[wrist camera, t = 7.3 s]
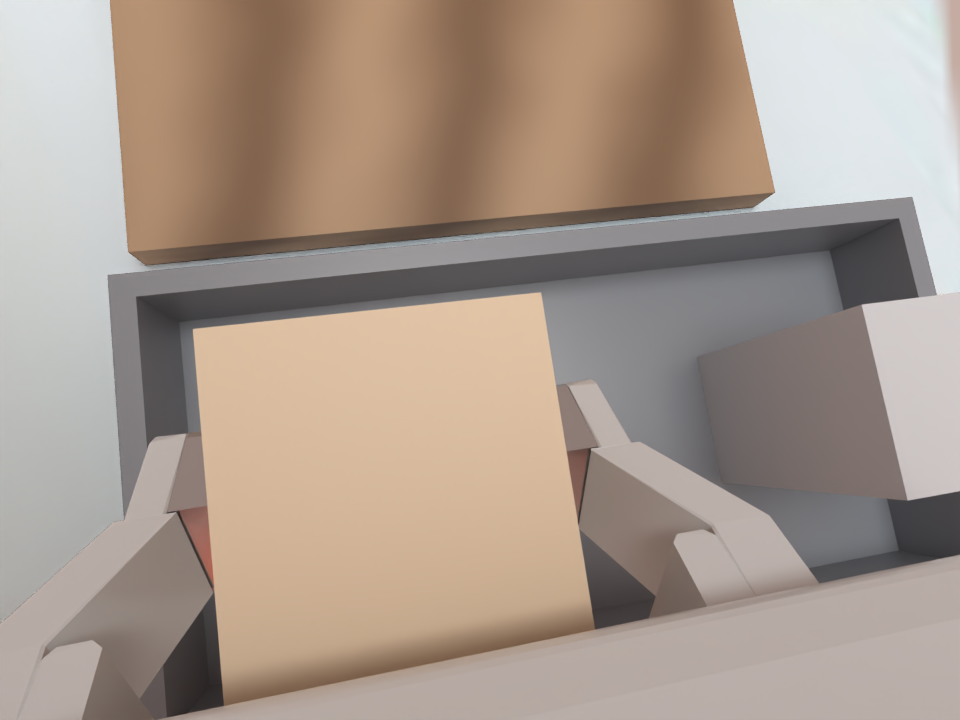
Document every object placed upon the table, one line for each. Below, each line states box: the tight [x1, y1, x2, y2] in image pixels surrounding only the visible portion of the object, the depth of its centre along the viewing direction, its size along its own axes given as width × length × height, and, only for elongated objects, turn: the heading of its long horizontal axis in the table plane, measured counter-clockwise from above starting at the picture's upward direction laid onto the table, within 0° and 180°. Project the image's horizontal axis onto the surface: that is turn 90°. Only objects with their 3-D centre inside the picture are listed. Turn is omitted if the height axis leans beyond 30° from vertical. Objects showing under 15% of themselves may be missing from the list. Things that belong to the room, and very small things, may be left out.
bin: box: [108, 197, 960, 720], centre depth 17 cm, size 22×11×4 cm, turn 98°
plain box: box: [697, 292, 960, 501], centre depth 16 cm, size 4×4×7 cm
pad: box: [110, 0, 775, 265], centre depth 20 cm, size 20×12×1 cm, turn 98°
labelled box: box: [193, 292, 595, 706], centre depth 11 cm, size 4×4×8 cm
